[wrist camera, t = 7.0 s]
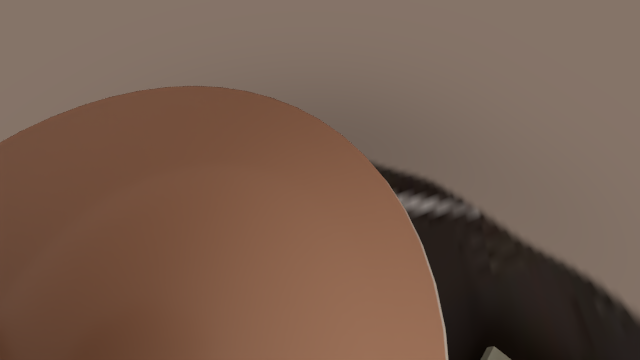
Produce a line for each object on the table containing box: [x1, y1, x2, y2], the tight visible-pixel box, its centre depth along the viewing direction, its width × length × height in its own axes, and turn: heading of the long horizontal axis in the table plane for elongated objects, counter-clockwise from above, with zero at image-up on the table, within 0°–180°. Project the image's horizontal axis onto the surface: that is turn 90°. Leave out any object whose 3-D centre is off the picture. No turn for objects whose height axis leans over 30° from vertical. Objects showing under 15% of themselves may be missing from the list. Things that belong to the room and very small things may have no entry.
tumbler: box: [0, 86, 448, 360], centre depth 8 cm, size 6×6×13 cm
